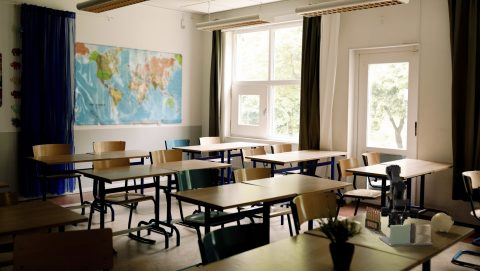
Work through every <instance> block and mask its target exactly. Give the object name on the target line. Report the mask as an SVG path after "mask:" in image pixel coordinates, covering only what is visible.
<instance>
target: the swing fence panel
mask: <svg viewBox="0 0 480 271" xmlns="http://www.w3.org/2000/svg"><path fill="white" fill-rule="evenodd" d="M410 225H411V224H403V225H390V227H389V237H390V244H399V243H410Z"/></svg>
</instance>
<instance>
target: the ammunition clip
mask: <svg viewBox="0 0 480 271" xmlns="http://www.w3.org/2000/svg"><path fill="white" fill-rule="evenodd" d="M365 210H366V211H365V212H366V213H365V218H364V228H367V229H370V230H373V231H377V232H382V222H381V219H382V218H381V209H377V208H376V209H375V207H370V206H369V207H368V206H366V209H365Z"/></svg>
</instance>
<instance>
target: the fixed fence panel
mask: <svg viewBox="0 0 480 271" xmlns="http://www.w3.org/2000/svg"><path fill="white" fill-rule="evenodd" d="M409 225H410V243H411V244H415V243H430V242H431V240H432V239H431V238H432V235H431V234H432V224H416V223H414V222H411V223H410V224H409Z"/></svg>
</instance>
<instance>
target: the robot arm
mask: <svg viewBox="0 0 480 271" xmlns="http://www.w3.org/2000/svg"><path fill="white" fill-rule="evenodd" d="M385 174H386V178H387V179H388V180H389V190H390V199H389V202H388V205H387V207H384V206H382V207H381V209H380V217H382V218H387V217H388V220H387V221H388V224H387V227H388V228H390V225H405V222H406V220H408V218H410V219H418V218H419V214H420V212H419V211H420V210H419V209H418V208H410V210H406V209H407V207H406V206H410V199H409V198H404V196H405V193H406V191H407V189H408V186H406V183H405V181H404V179H402V178H401V174H402V167H401V166H400V165H399V164H389V165H386V167H385Z"/></svg>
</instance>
